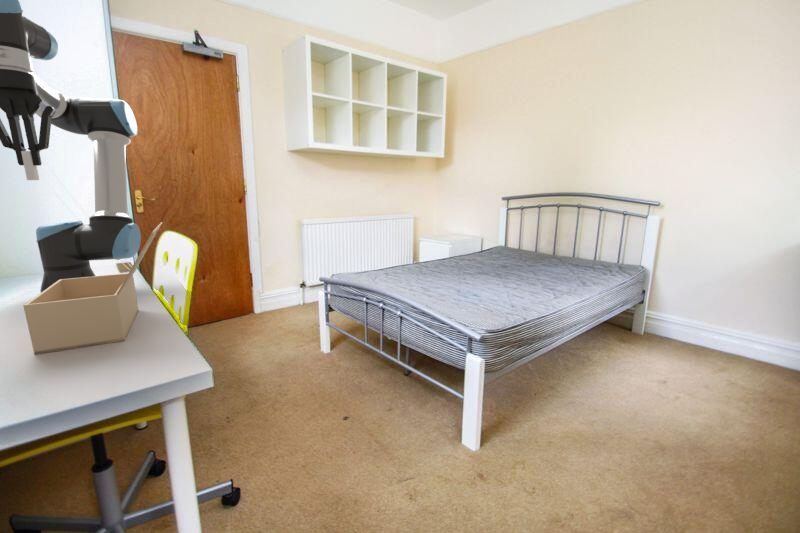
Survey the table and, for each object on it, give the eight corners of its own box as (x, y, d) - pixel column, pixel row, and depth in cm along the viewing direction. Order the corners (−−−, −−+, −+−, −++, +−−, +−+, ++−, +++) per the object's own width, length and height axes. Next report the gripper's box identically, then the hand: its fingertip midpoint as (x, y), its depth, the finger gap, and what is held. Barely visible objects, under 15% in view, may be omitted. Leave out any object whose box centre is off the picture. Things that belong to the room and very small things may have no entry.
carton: (67, 319, 105) (59, 279, 102) (138, 310, 112) (132, 272, 109) (34, 354, 84) (23, 305, 81) (124, 340, 91) (116, 295, 88)
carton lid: (161, 221, 110) (162, 222, 110) (132, 272, 109) (134, 272, 109) (152, 231, 89) (154, 232, 89) (116, 294, 88) (118, 294, 88)
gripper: (-39, 63, 81) (-12, 180, 86) (43, 70, 87) (63, 180, 92) (-21, 72, 87) (3, 180, 93) (53, 78, 93) (72, 179, 98)
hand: (33, 180), depth 92 cm, fingers closed
